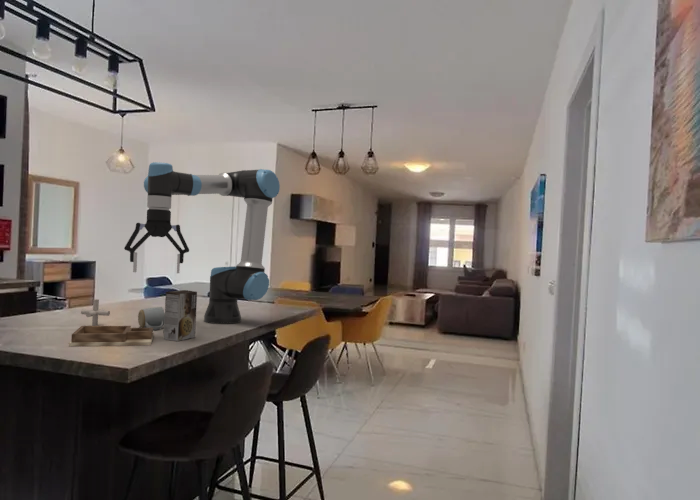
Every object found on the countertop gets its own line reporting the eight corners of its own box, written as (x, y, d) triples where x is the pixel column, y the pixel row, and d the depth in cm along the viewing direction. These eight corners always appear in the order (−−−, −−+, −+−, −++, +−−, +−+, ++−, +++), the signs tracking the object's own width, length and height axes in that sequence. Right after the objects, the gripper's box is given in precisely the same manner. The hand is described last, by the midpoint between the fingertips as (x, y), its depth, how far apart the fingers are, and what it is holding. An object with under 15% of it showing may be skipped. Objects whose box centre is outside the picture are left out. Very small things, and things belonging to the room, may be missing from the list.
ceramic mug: (136, 326, 190) (137, 306, 189) (158, 325, 195) (159, 305, 195) (145, 331, 181) (146, 310, 181) (168, 330, 187) (169, 309, 186)
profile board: (153, 335, 174) (154, 325, 174) (150, 345, 158) (151, 334, 158) (79, 335, 167) (80, 325, 167) (68, 346, 151) (69, 334, 151)
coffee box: (180, 335, 177) (183, 289, 177) (195, 337, 174) (198, 291, 174) (162, 339, 168) (164, 291, 168) (177, 341, 166) (180, 292, 166)
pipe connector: (101, 329, 181) (102, 301, 181) (73, 327, 181) (75, 300, 181) (114, 324, 191) (116, 298, 191) (88, 323, 191) (90, 297, 191)
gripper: (197, 212, 175) (195, 272, 175) (120, 207, 167) (117, 270, 168) (198, 211, 167) (195, 274, 168) (116, 206, 160) (114, 272, 160)
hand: (156, 272), depth 168 cm, fingers open, 13 cm apart
